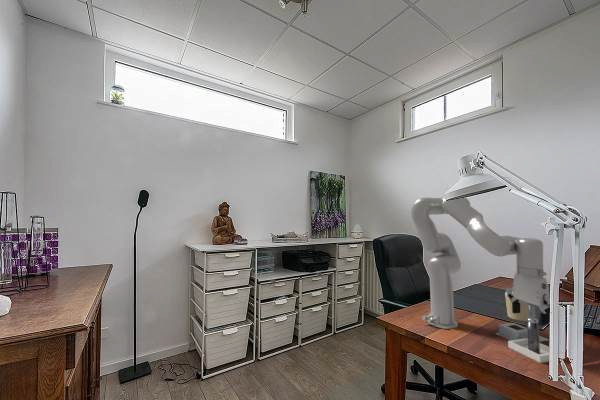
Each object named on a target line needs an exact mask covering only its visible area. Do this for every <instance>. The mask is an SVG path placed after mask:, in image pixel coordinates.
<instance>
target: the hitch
mask: <svg viewBox="0 0 600 400" xmlns="http://www.w3.org/2000/svg"><path fill="white" fill-rule="evenodd" d="M528 308H529V315H528V317H532V318H536V306H535V305H532V304H529V303H528ZM494 334H495V335H498V336H500V337H501V338H503V339H505V340H508V341H512V340H519V339H525V338H528V333H527V326H523V325H521V324H518V323H516V322H508V323H507V322H506V323H500V324H499V323H498V332H496V333H494ZM545 341H546V342H547V341H550V339H549V338H547V337H544V336H542V335H539V343H541V342H545Z"/></svg>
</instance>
